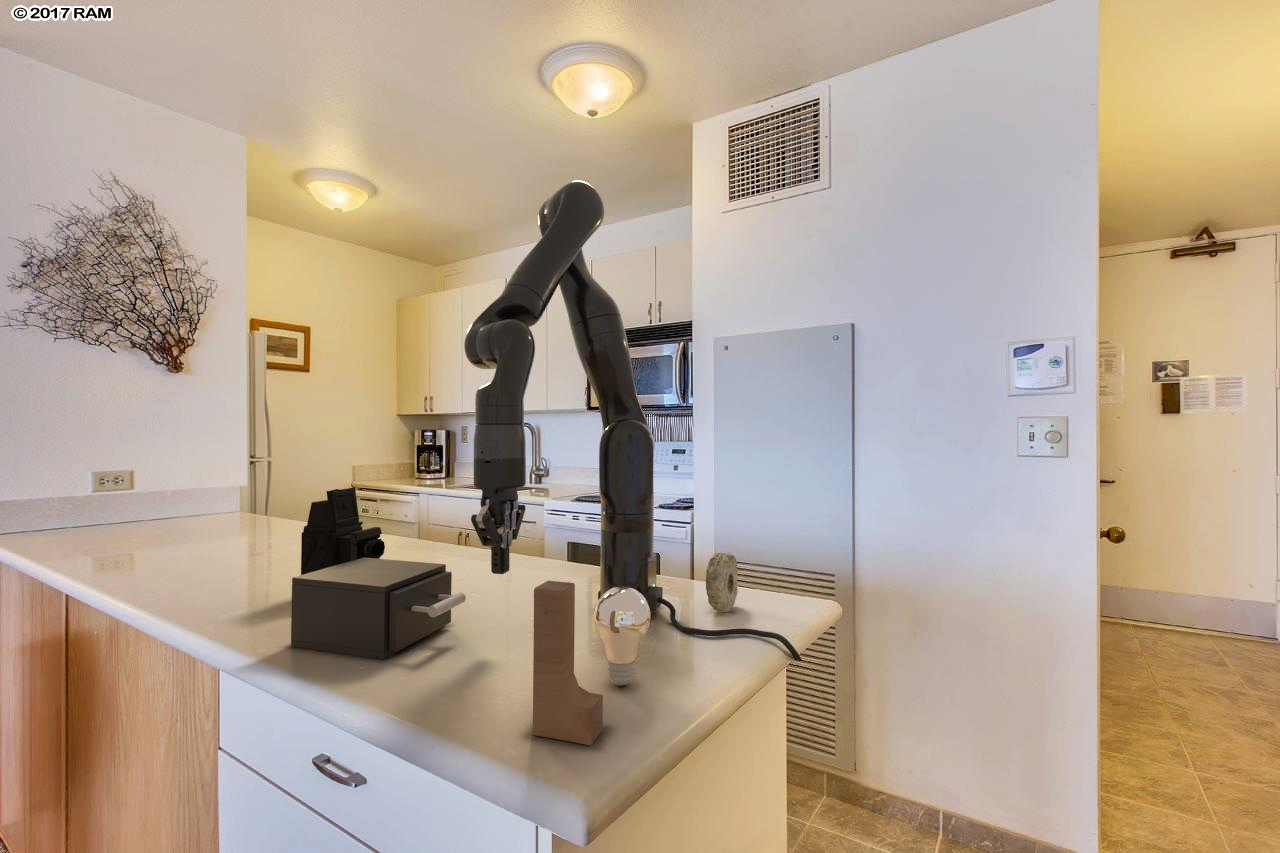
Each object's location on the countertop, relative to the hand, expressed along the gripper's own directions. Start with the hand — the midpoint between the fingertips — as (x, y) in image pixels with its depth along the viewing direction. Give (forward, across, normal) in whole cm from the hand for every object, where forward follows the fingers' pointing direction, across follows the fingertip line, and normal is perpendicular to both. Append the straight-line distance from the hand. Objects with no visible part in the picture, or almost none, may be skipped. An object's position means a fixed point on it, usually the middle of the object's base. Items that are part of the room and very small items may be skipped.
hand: (500, 572), depth 83 cm
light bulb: (+11, +10, +21) cm, 25 cm away
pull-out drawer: (+9, +3, -15) cm, 18 cm away
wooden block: (+10, +21, +19) cm, 30 cm away
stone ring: (+11, -23, +30) cm, 40 cm away
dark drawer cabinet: (+10, +3, -20) cm, 22 cm away
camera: (+10, -13, -38) cm, 41 cm away
